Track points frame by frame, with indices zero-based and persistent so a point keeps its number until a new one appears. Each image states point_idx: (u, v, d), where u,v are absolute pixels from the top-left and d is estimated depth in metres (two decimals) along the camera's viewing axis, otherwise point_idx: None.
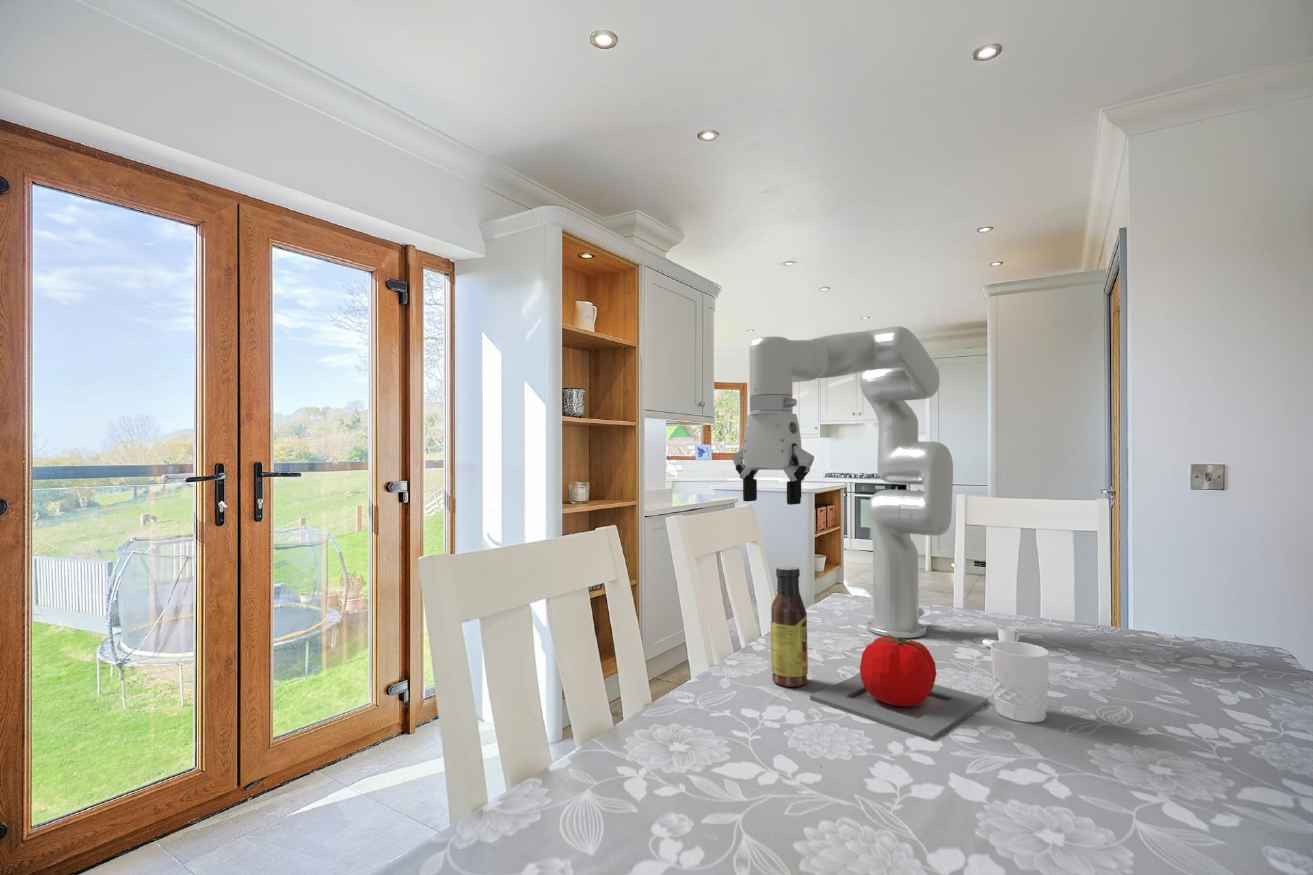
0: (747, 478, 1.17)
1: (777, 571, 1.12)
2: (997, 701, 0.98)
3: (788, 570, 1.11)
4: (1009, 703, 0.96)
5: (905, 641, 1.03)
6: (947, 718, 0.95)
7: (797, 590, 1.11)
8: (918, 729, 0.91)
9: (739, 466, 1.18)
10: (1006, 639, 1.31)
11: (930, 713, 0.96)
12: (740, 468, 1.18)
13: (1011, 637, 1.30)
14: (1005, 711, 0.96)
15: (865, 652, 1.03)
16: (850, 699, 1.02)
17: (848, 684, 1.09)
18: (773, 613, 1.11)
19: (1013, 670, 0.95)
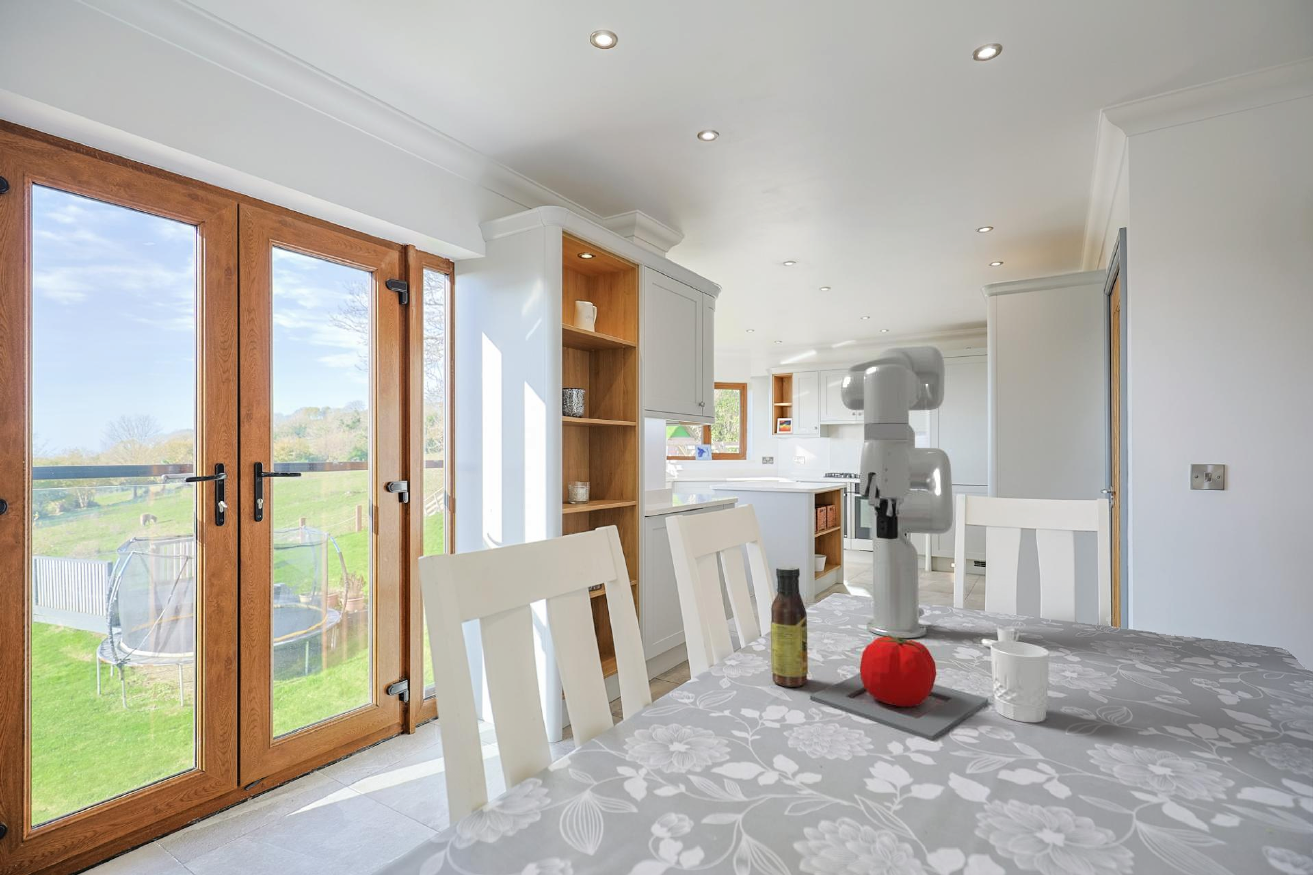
0: None
1: (777, 571, 1.12)
2: (997, 701, 0.98)
3: (788, 570, 1.11)
4: (1009, 703, 0.96)
5: (905, 641, 1.03)
6: (947, 718, 0.95)
7: (797, 590, 1.11)
8: (918, 729, 0.91)
9: (884, 503, 1.11)
10: (1005, 639, 1.31)
11: (930, 713, 0.96)
12: (885, 505, 1.11)
13: (1010, 637, 1.30)
14: (1005, 711, 0.96)
15: (865, 652, 1.03)
16: (850, 699, 1.02)
17: (848, 684, 1.09)
18: (773, 613, 1.11)
19: (1013, 670, 0.95)
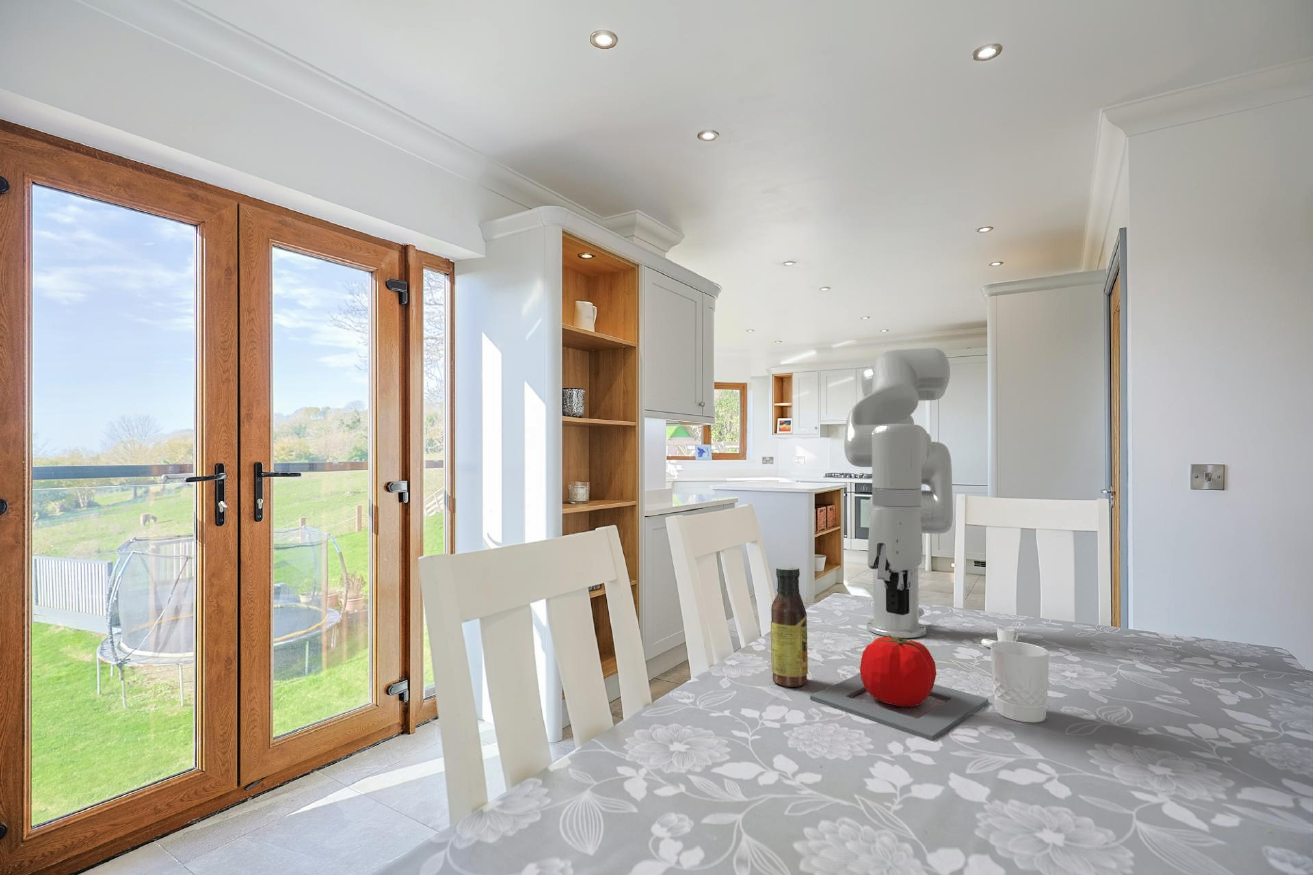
0: None
1: (777, 571, 1.12)
2: (997, 701, 0.98)
3: (788, 570, 1.11)
4: (1009, 703, 0.96)
5: (905, 641, 1.03)
6: (947, 718, 0.95)
7: (797, 590, 1.11)
8: (918, 729, 0.91)
9: (895, 576, 1.01)
10: (1005, 639, 1.31)
11: (930, 713, 0.96)
12: (895, 578, 1.01)
13: (1010, 637, 1.30)
14: (1005, 711, 0.96)
15: (865, 652, 1.03)
16: (850, 699, 1.02)
17: (848, 684, 1.09)
18: (773, 613, 1.11)
19: (1013, 670, 0.95)
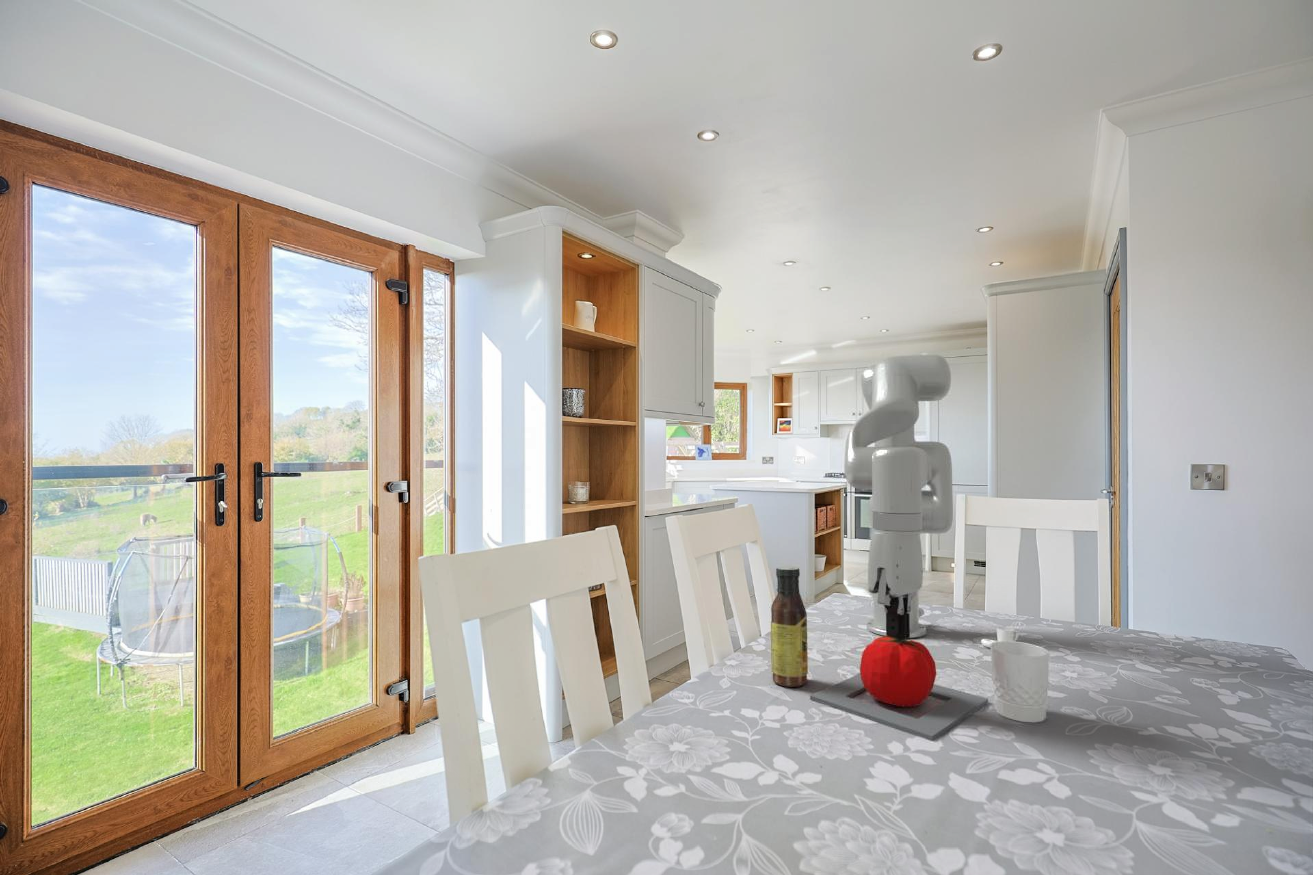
0: None
1: (777, 571, 1.12)
2: (997, 701, 0.98)
3: (788, 570, 1.11)
4: (1009, 703, 0.96)
5: (905, 641, 1.03)
6: (947, 718, 0.95)
7: (797, 590, 1.11)
8: (918, 729, 0.91)
9: (895, 600, 1.01)
10: (1004, 639, 1.31)
11: (930, 713, 0.96)
12: (896, 602, 1.01)
13: (1010, 637, 1.30)
14: (1005, 711, 0.96)
15: (865, 652, 1.03)
16: (850, 699, 1.02)
17: (848, 684, 1.09)
18: (773, 613, 1.11)
19: (1013, 670, 0.95)
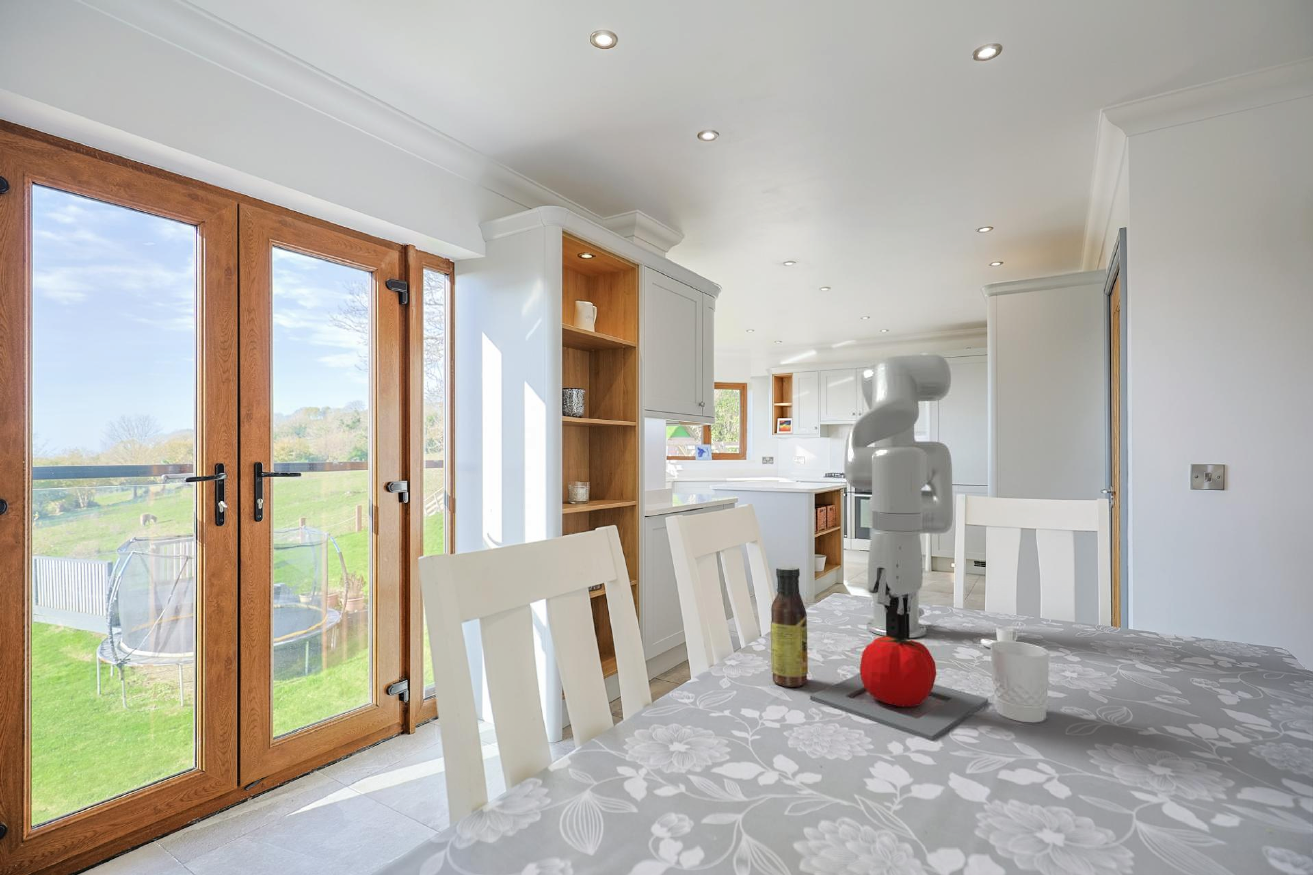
0: None
1: (777, 571, 1.12)
2: (997, 701, 0.98)
3: (788, 570, 1.11)
4: (1009, 703, 0.96)
5: (905, 641, 1.03)
6: (947, 718, 0.95)
7: (797, 590, 1.11)
8: (918, 729, 0.91)
9: (895, 600, 1.01)
10: (1004, 639, 1.31)
11: (930, 713, 0.96)
12: (896, 602, 1.01)
13: (1009, 637, 1.31)
14: (1005, 711, 0.96)
15: (865, 652, 1.03)
16: (850, 699, 1.02)
17: (848, 684, 1.09)
18: (773, 613, 1.11)
19: (1013, 670, 0.95)
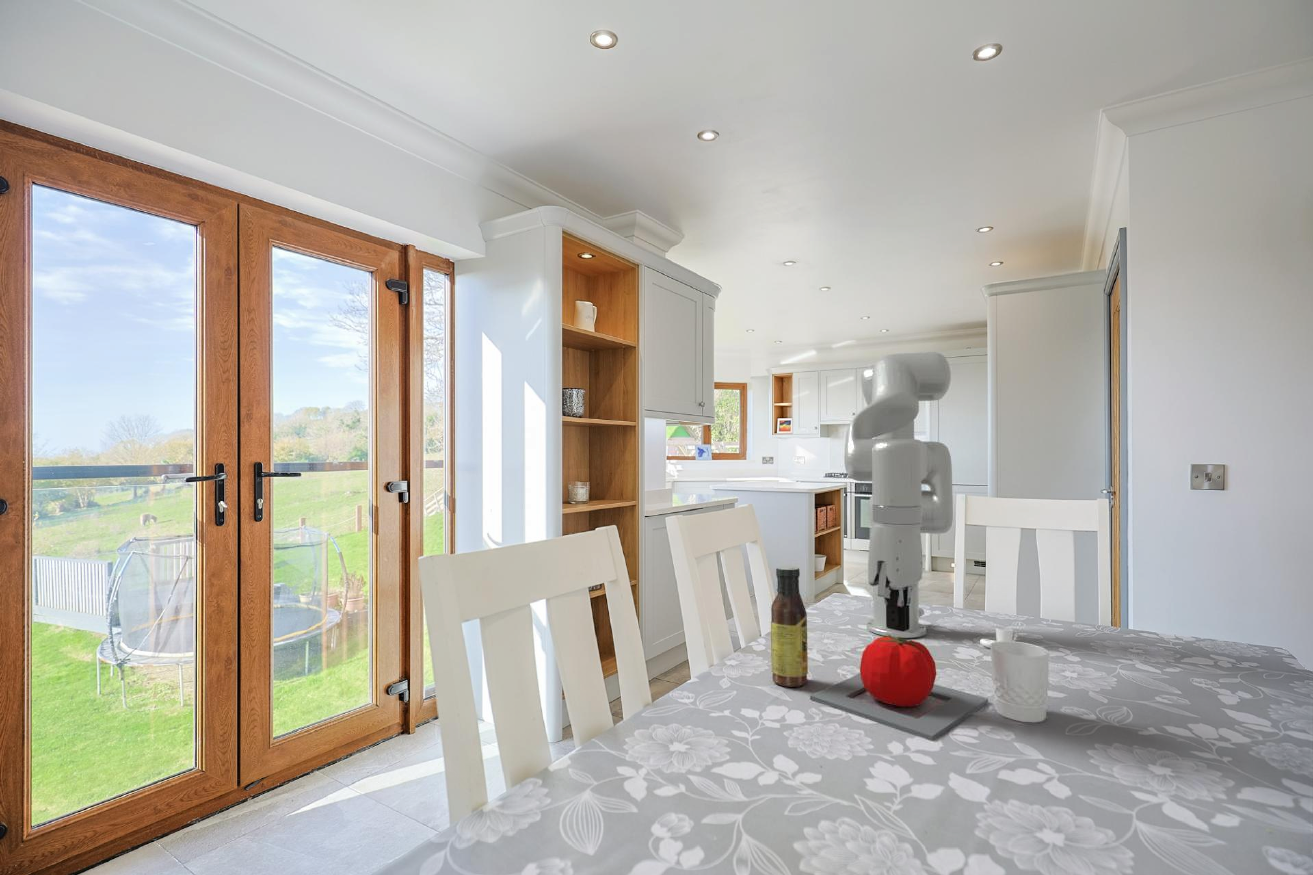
0: None
1: (777, 571, 1.12)
2: (997, 701, 0.98)
3: (788, 570, 1.11)
4: (1009, 703, 0.96)
5: (905, 641, 1.03)
6: (947, 718, 0.95)
7: (797, 590, 1.11)
8: (918, 729, 0.91)
9: (895, 593, 1.02)
10: (1003, 639, 1.31)
11: (930, 713, 0.96)
12: (896, 595, 1.02)
13: (1009, 637, 1.31)
14: (1005, 711, 0.96)
15: (865, 652, 1.03)
16: (850, 699, 1.02)
17: (848, 684, 1.09)
18: (773, 613, 1.11)
19: (1013, 670, 0.95)
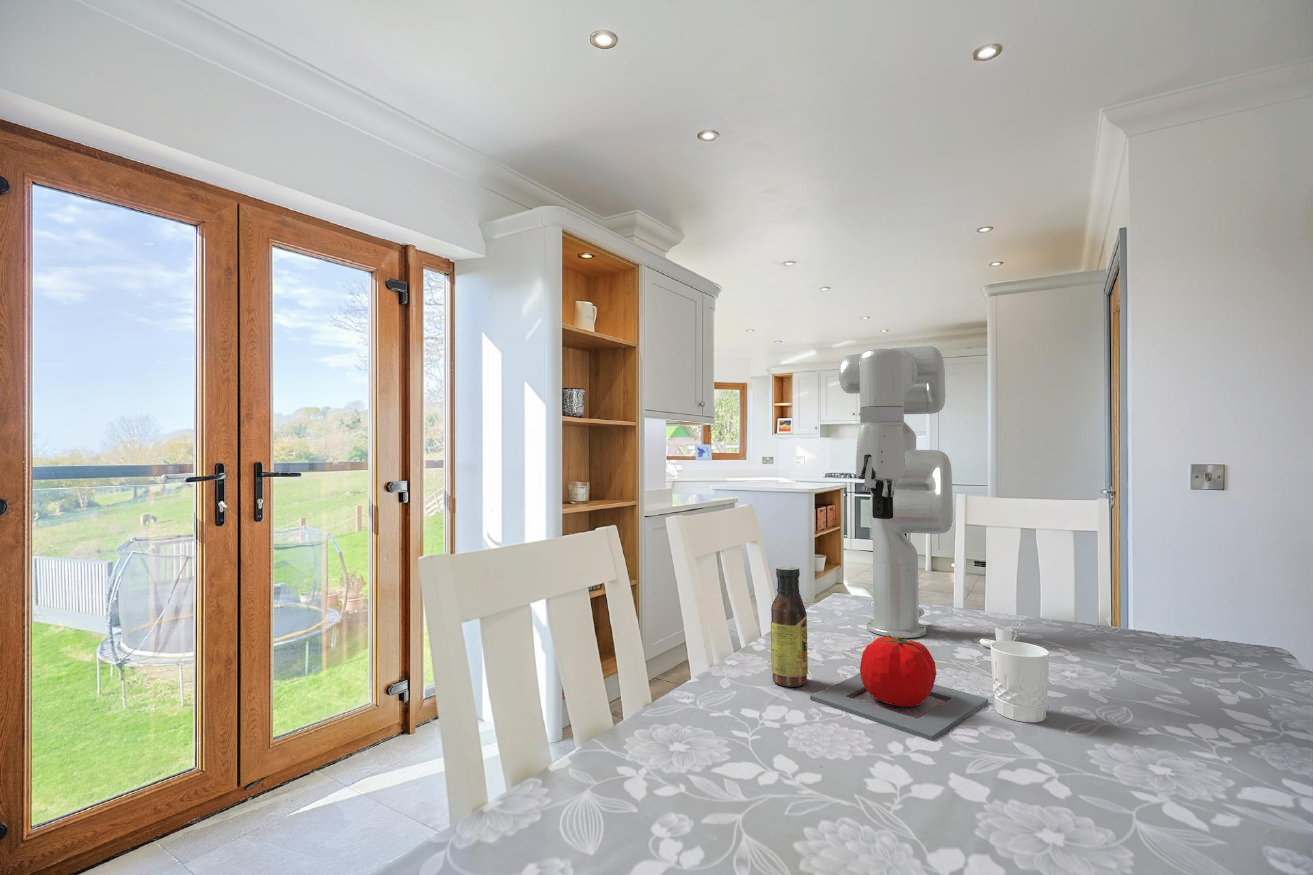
0: None
1: (777, 571, 1.12)
2: (997, 701, 0.98)
3: (788, 570, 1.11)
4: (1009, 703, 0.96)
5: (905, 641, 1.03)
6: (947, 718, 0.95)
7: (797, 590, 1.11)
8: (918, 729, 0.91)
9: (880, 484, 1.14)
10: (1003, 638, 1.31)
11: (930, 713, 0.96)
12: (881, 486, 1.14)
13: (1008, 636, 1.31)
14: (1005, 711, 0.96)
15: (865, 652, 1.03)
16: (850, 699, 1.02)
17: (848, 684, 1.09)
18: (773, 613, 1.11)
19: (1013, 670, 0.95)
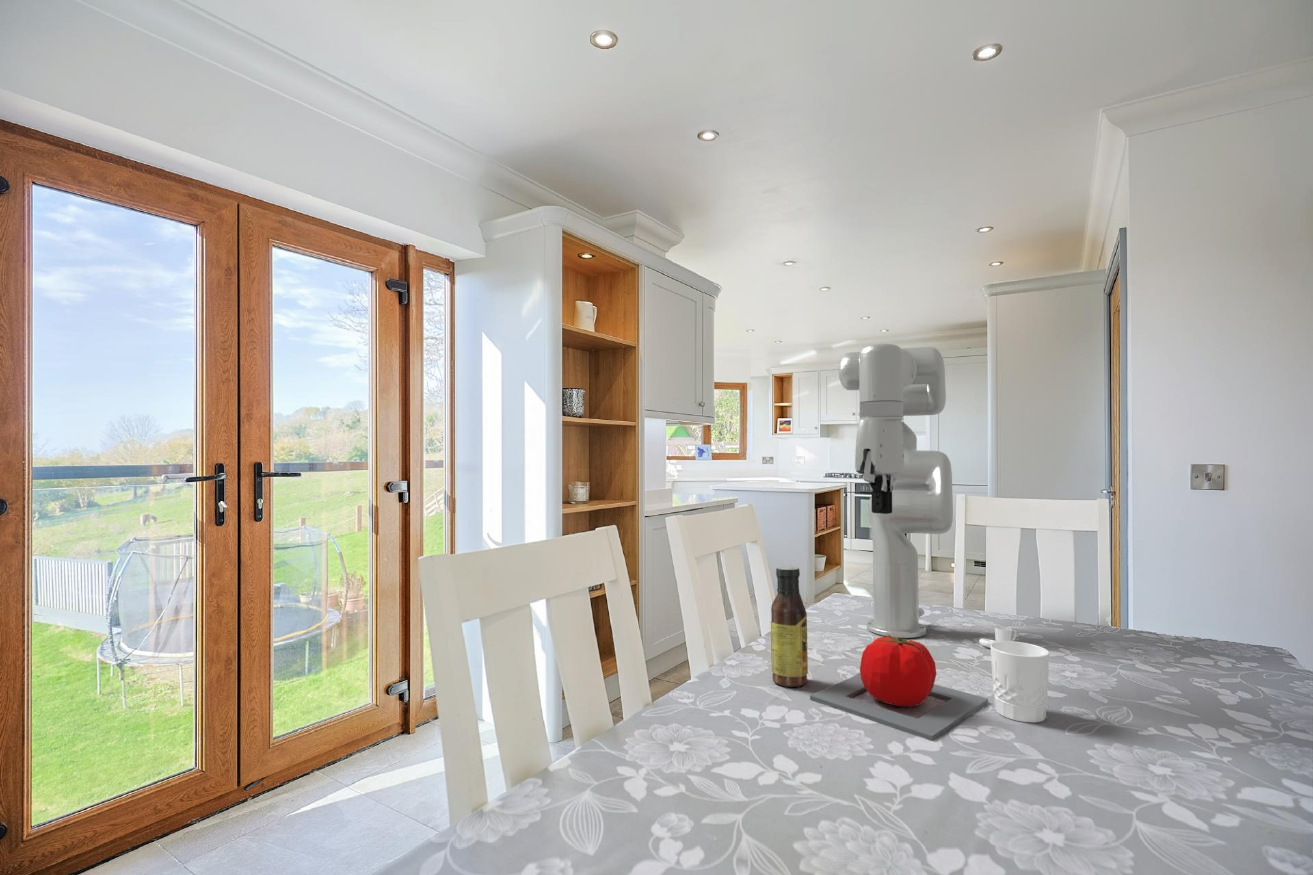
0: None
1: (777, 571, 1.12)
2: (997, 701, 0.98)
3: (788, 570, 1.11)
4: (1009, 703, 0.96)
5: (905, 641, 1.03)
6: (947, 718, 0.95)
7: (797, 590, 1.11)
8: (918, 729, 0.91)
9: (879, 478, 1.14)
10: (1003, 638, 1.31)
11: (930, 713, 0.96)
12: (880, 480, 1.14)
13: (1008, 636, 1.31)
14: (1005, 711, 0.96)
15: (865, 652, 1.03)
16: (850, 699, 1.02)
17: (848, 684, 1.09)
18: (773, 613, 1.11)
19: (1013, 670, 0.95)
